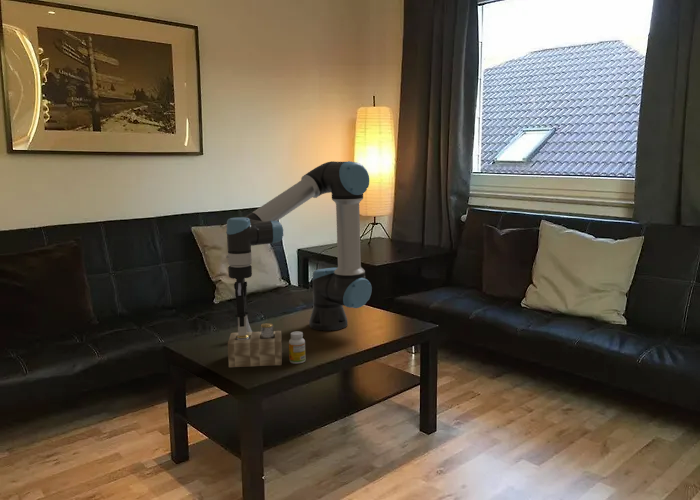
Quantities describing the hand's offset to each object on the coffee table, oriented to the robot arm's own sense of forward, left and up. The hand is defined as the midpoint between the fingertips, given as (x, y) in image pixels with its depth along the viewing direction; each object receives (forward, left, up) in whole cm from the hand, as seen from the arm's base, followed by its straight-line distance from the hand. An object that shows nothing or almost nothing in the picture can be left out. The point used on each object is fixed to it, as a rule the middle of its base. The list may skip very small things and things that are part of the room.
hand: (242, 334), depth 206 cm
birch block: (-4, 0, -9) cm, 10 cm away
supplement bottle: (-18, +3, -9) cm, 20 cm away
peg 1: (0, 0, -8) cm, 8 cm away
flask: (+1, -24, -9) cm, 26 cm away
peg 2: (-8, 0, -5) cm, 9 cm away
